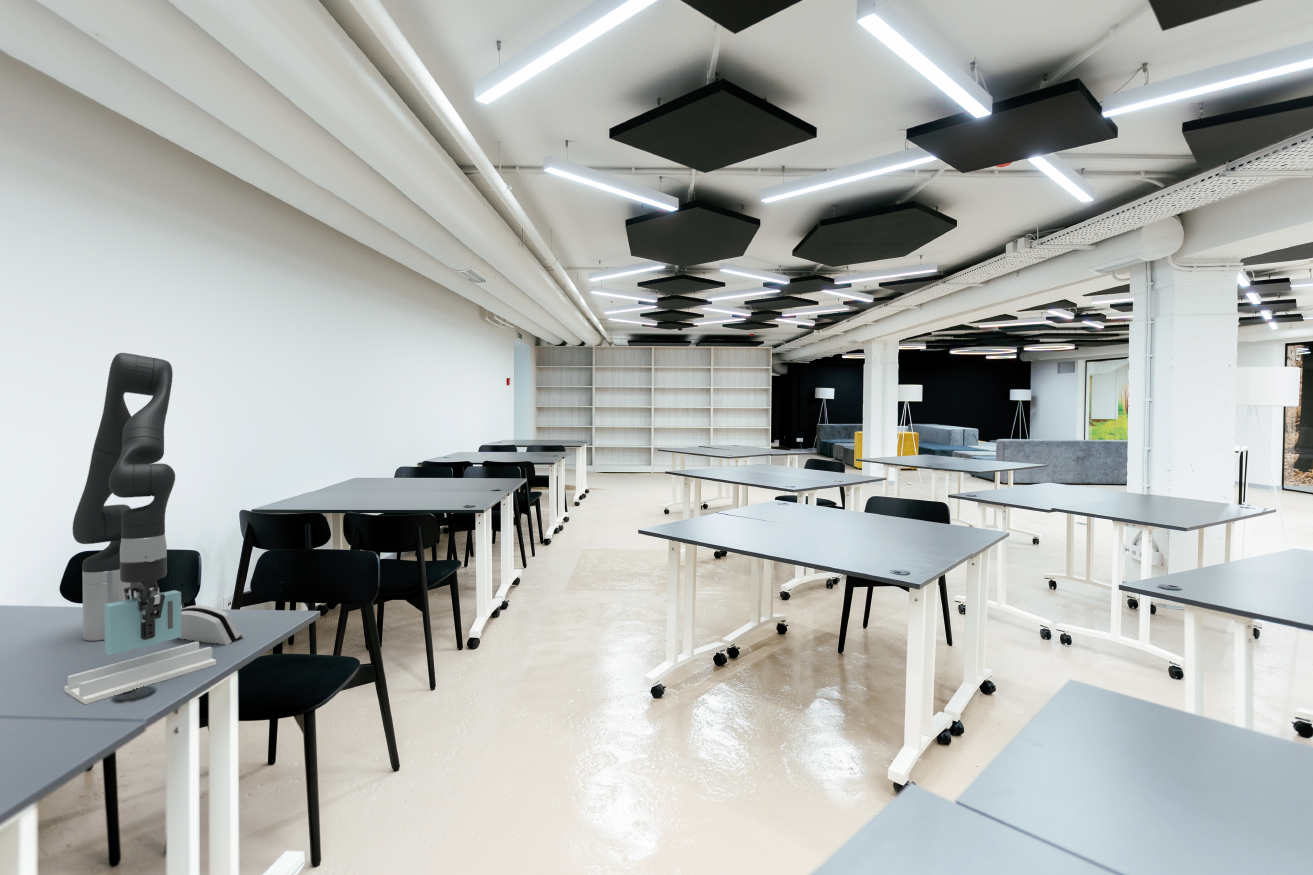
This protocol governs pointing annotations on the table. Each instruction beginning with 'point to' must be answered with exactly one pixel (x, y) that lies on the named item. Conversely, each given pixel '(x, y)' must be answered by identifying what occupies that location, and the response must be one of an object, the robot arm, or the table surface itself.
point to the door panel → (127, 624)
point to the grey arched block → (208, 625)
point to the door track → (138, 672)
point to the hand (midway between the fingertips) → (144, 636)
